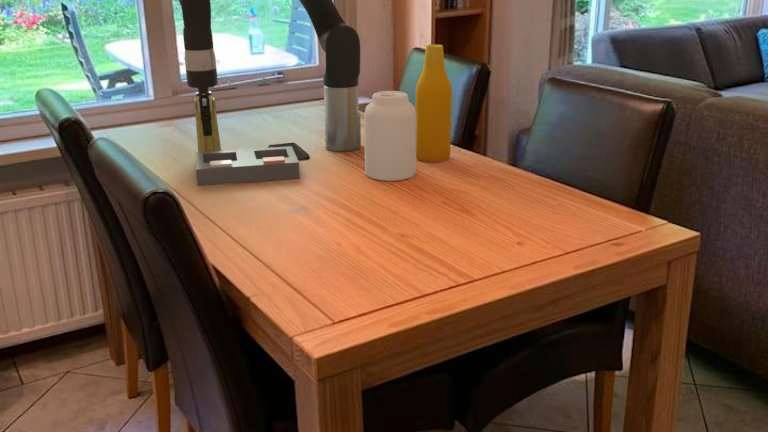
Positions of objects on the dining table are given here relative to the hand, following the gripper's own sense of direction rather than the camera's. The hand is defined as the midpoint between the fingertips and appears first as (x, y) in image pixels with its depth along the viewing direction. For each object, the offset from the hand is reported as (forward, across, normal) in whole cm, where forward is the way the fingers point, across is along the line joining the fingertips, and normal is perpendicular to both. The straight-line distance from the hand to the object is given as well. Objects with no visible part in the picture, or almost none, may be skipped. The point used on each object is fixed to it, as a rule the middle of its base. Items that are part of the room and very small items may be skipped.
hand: (207, 132), depth 198 cm
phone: (+8, +1, -21) cm, 22 cm away
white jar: (+8, -24, -43) cm, 50 cm away
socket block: (+7, -15, -9) cm, 18 cm away
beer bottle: (+8, -13, -57) cm, 59 cm away
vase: (+6, 0, 0) cm, 6 cm away
